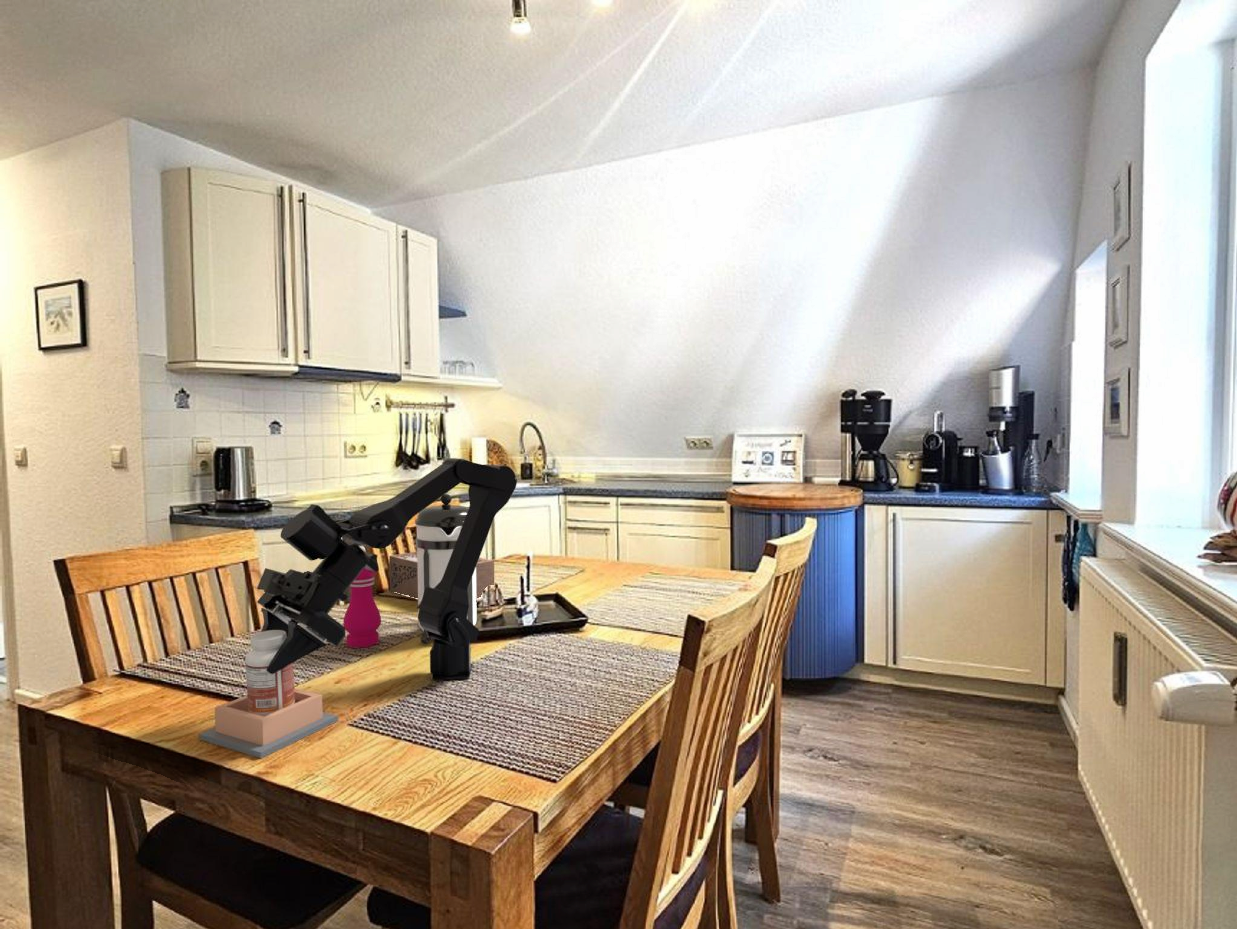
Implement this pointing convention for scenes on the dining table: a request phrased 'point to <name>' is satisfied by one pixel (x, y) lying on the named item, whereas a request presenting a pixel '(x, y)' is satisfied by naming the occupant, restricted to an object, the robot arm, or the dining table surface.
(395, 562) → the tissue box cover
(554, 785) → the dining table surface
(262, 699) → the pill bottle
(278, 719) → the bottle stand
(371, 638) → the pepper mill
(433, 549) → the coffee press
